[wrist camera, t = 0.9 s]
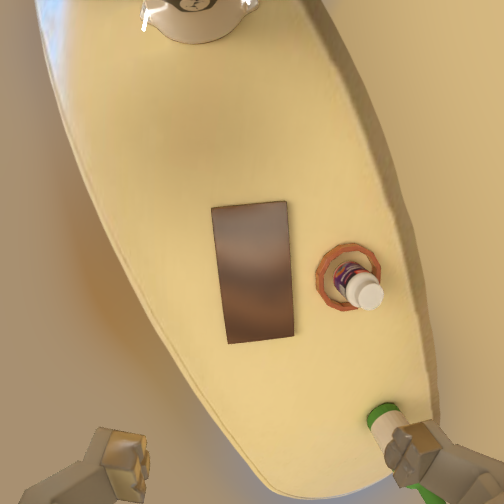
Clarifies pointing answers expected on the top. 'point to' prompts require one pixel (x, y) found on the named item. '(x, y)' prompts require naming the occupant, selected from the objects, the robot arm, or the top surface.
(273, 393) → the top surface
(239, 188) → the top surface
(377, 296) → the pill bottle
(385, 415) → the wine bottle
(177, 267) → the top surface
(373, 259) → the ring
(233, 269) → the board
